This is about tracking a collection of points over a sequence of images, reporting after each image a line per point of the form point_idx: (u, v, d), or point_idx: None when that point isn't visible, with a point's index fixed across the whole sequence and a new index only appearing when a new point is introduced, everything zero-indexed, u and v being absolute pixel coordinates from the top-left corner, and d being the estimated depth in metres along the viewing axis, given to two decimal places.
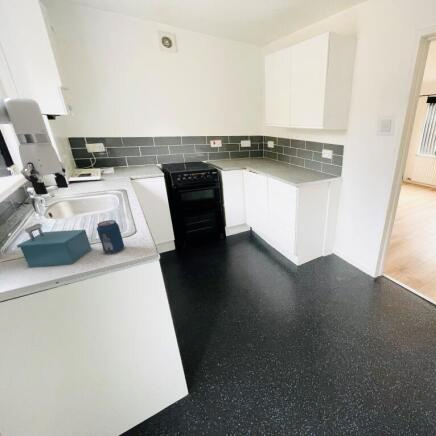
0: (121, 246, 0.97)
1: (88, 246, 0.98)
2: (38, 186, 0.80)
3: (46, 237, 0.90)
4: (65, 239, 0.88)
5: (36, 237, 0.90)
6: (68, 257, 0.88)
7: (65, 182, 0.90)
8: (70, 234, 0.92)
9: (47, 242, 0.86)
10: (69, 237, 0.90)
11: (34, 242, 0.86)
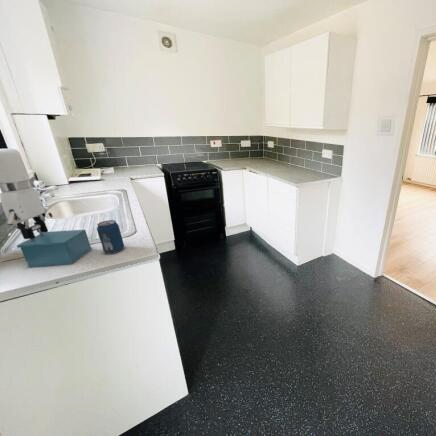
0: (121, 246, 0.97)
1: (88, 246, 0.98)
2: (26, 232, 0.85)
3: (46, 237, 0.90)
4: (65, 239, 0.88)
5: (36, 237, 0.90)
6: (68, 257, 0.88)
7: (44, 227, 0.91)
8: (70, 234, 0.92)
9: (47, 242, 0.86)
10: (69, 237, 0.90)
11: (34, 242, 0.86)
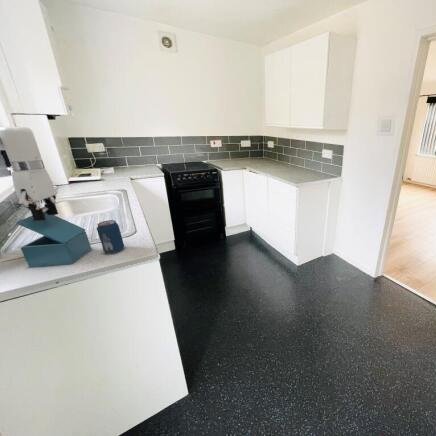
0: (121, 246, 0.97)
1: (88, 246, 0.98)
2: (36, 213, 0.83)
3: (47, 223, 0.88)
4: (66, 237, 0.88)
5: None
6: (68, 257, 0.88)
7: (55, 209, 0.90)
8: (71, 231, 0.92)
9: (48, 233, 0.85)
10: (70, 236, 0.90)
11: (35, 225, 0.84)
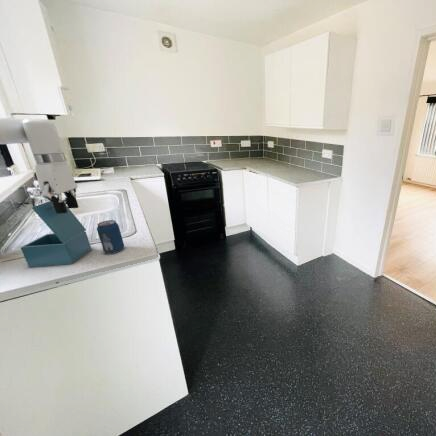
0: (121, 246, 0.97)
1: (88, 246, 0.98)
2: (59, 206, 0.83)
3: (58, 214, 0.88)
4: (68, 237, 0.88)
5: (51, 204, 0.87)
6: (68, 257, 0.88)
7: (75, 203, 0.90)
8: (74, 229, 0.92)
9: (55, 228, 0.85)
10: (71, 235, 0.90)
11: (47, 215, 0.84)
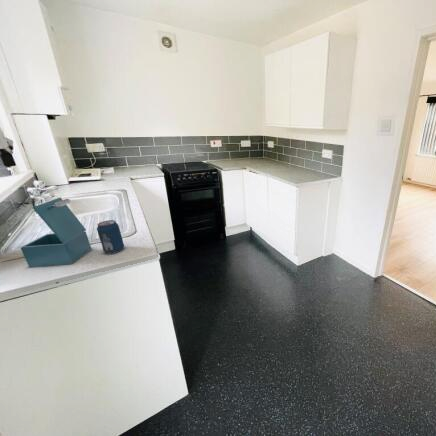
0: (121, 246, 0.97)
1: (88, 246, 0.98)
2: None
3: (58, 214, 0.88)
4: (68, 237, 0.88)
5: (52, 204, 0.87)
6: (68, 257, 0.88)
7: (12, 160, 0.84)
8: (74, 229, 0.92)
9: (55, 228, 0.85)
10: (71, 235, 0.90)
11: (48, 215, 0.84)
